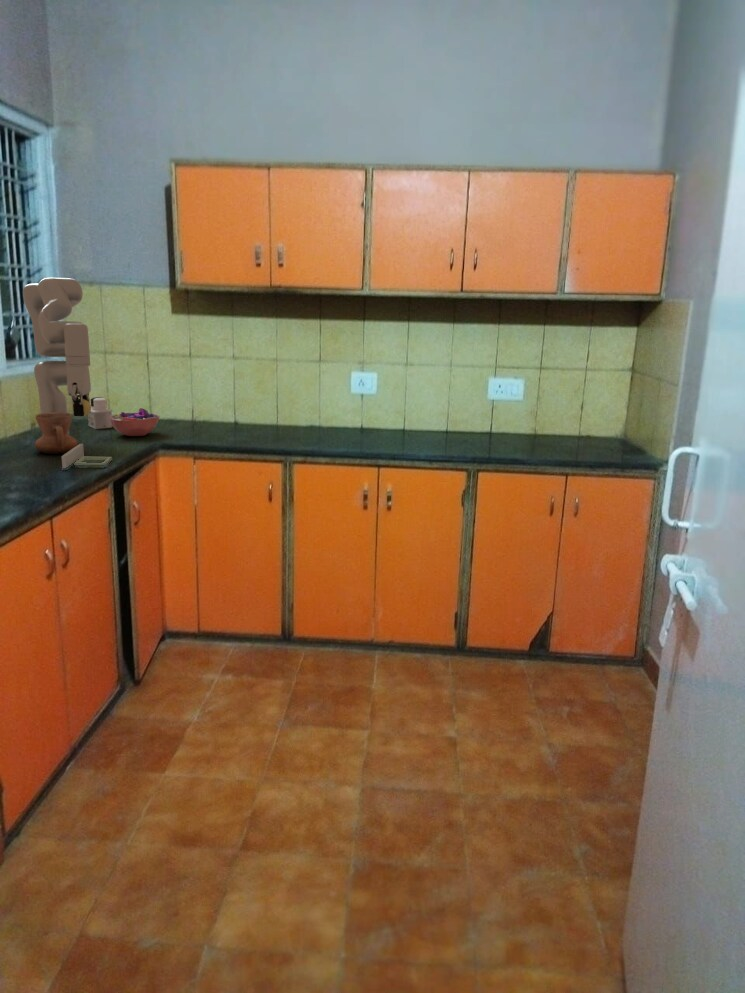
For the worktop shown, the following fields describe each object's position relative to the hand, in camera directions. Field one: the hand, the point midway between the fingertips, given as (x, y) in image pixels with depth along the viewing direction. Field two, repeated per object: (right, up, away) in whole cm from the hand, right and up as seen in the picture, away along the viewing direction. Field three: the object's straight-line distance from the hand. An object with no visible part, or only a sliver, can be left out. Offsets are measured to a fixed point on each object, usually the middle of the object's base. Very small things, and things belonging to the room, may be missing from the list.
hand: (82, 414), depth 234 cm
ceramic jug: (-18, -12, +21) cm, 30 cm away
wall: (-5, -17, +6) cm, 19 cm away
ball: (0, +2, -1) cm, 2 cm away
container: (-22, +2, +70) cm, 73 cm away
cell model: (-1, -3, +56) cm, 56 cm away
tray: (+2, -17, +6) cm, 18 cm away
